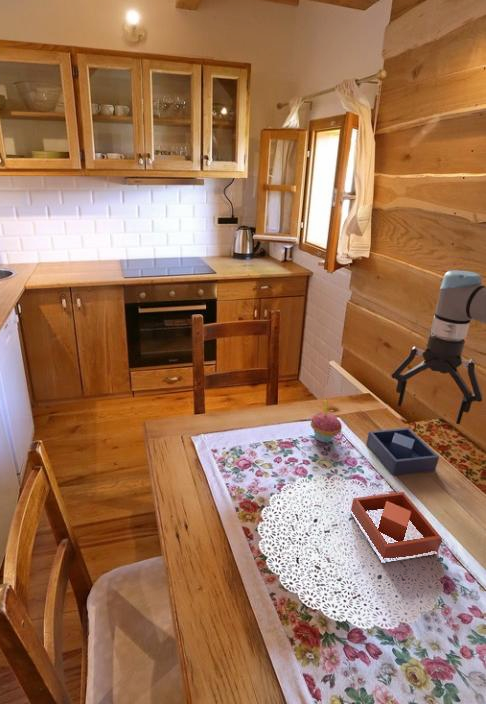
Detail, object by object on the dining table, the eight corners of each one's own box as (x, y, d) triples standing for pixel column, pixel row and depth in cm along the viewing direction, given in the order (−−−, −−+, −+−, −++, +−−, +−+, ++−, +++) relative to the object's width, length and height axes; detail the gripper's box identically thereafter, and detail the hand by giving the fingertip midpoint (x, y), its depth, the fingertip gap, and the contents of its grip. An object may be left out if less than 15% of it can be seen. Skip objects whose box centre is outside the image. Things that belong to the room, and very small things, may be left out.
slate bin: (435, 471, 106) (439, 457, 104) (392, 476, 103) (395, 461, 102) (405, 440, 118) (408, 427, 116) (365, 444, 115) (368, 431, 113)
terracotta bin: (437, 554, 82) (442, 538, 81) (381, 564, 80) (386, 547, 78) (399, 506, 94) (403, 491, 92) (349, 513, 91) (353, 498, 90)
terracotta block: (406, 529, 87) (411, 511, 86) (401, 545, 84) (407, 527, 82) (382, 518, 90) (386, 500, 88) (377, 533, 86) (381, 515, 84)
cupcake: (303, 430, 120) (308, 395, 115) (328, 426, 122) (334, 392, 118) (318, 449, 112) (324, 412, 108) (345, 444, 114) (352, 408, 110)
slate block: (410, 454, 111) (414, 439, 109) (407, 464, 107) (411, 449, 105) (391, 447, 114) (395, 432, 112) (387, 457, 110) (391, 441, 108)
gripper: (389, 328, 100) (374, 403, 107) (510, 354, 87) (484, 437, 95) (395, 320, 106) (380, 391, 113) (509, 343, 93) (485, 422, 101)
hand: (428, 412), depth 104 cm, fingers open, 13 cm apart
